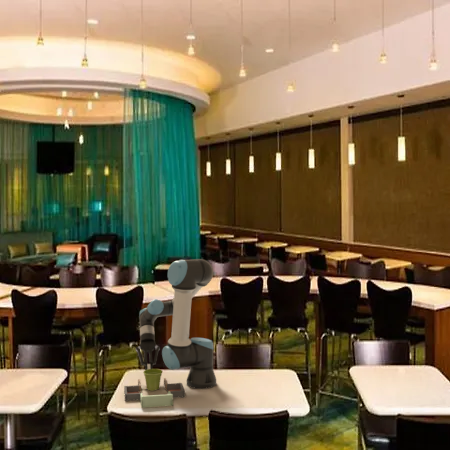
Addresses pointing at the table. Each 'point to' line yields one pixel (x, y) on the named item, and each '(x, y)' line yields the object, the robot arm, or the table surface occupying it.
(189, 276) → the robot arm
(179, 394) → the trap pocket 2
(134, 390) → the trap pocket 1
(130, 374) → the table surface
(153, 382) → the plant pot
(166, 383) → the chute
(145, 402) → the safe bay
